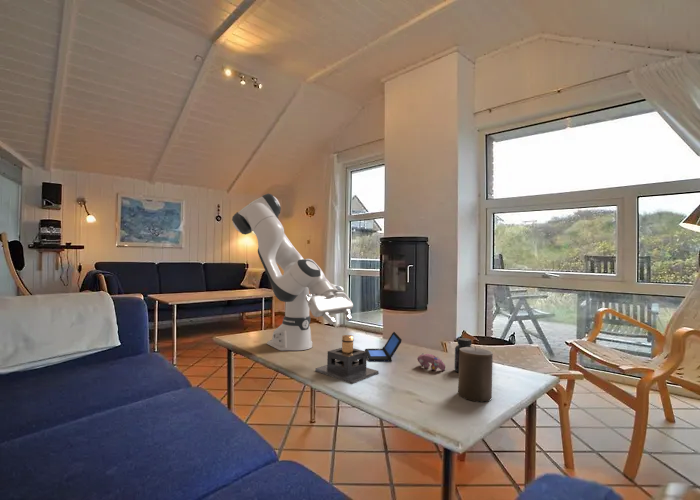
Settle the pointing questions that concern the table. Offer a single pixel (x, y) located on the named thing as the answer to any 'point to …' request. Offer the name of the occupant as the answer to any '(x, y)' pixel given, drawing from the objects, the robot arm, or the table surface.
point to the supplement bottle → (461, 343)
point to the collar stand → (347, 366)
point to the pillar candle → (475, 374)
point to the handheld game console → (385, 350)
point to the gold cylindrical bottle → (347, 345)
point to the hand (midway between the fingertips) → (341, 321)
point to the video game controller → (431, 361)
